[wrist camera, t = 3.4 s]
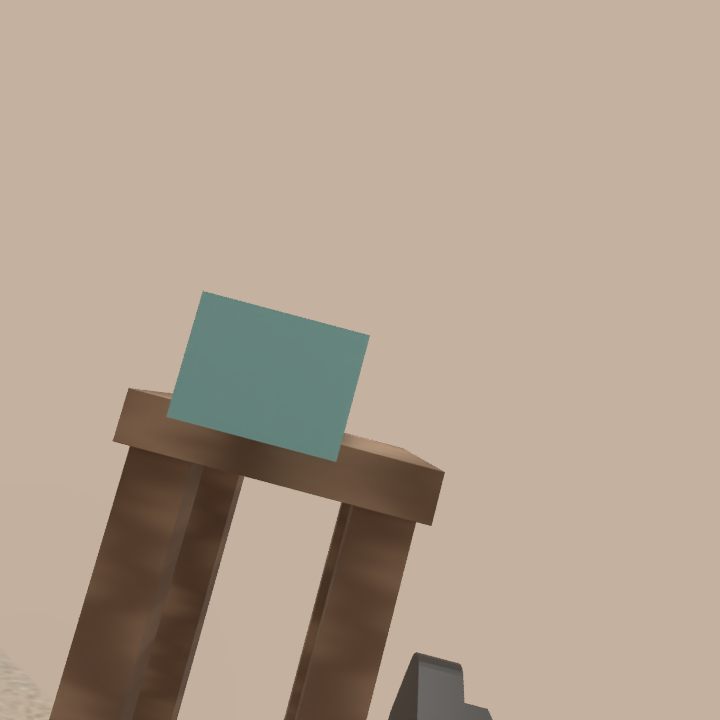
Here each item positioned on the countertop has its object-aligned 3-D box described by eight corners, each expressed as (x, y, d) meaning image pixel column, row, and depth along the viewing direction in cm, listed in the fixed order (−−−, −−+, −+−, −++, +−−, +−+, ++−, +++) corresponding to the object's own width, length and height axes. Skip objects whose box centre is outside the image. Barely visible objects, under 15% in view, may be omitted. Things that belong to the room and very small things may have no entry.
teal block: (166, 417, 15) (202, 290, 15) (276, 415, 39) (290, 367, 39) (336, 462, 15) (369, 335, 15) (341, 432, 39) (354, 384, 39)
